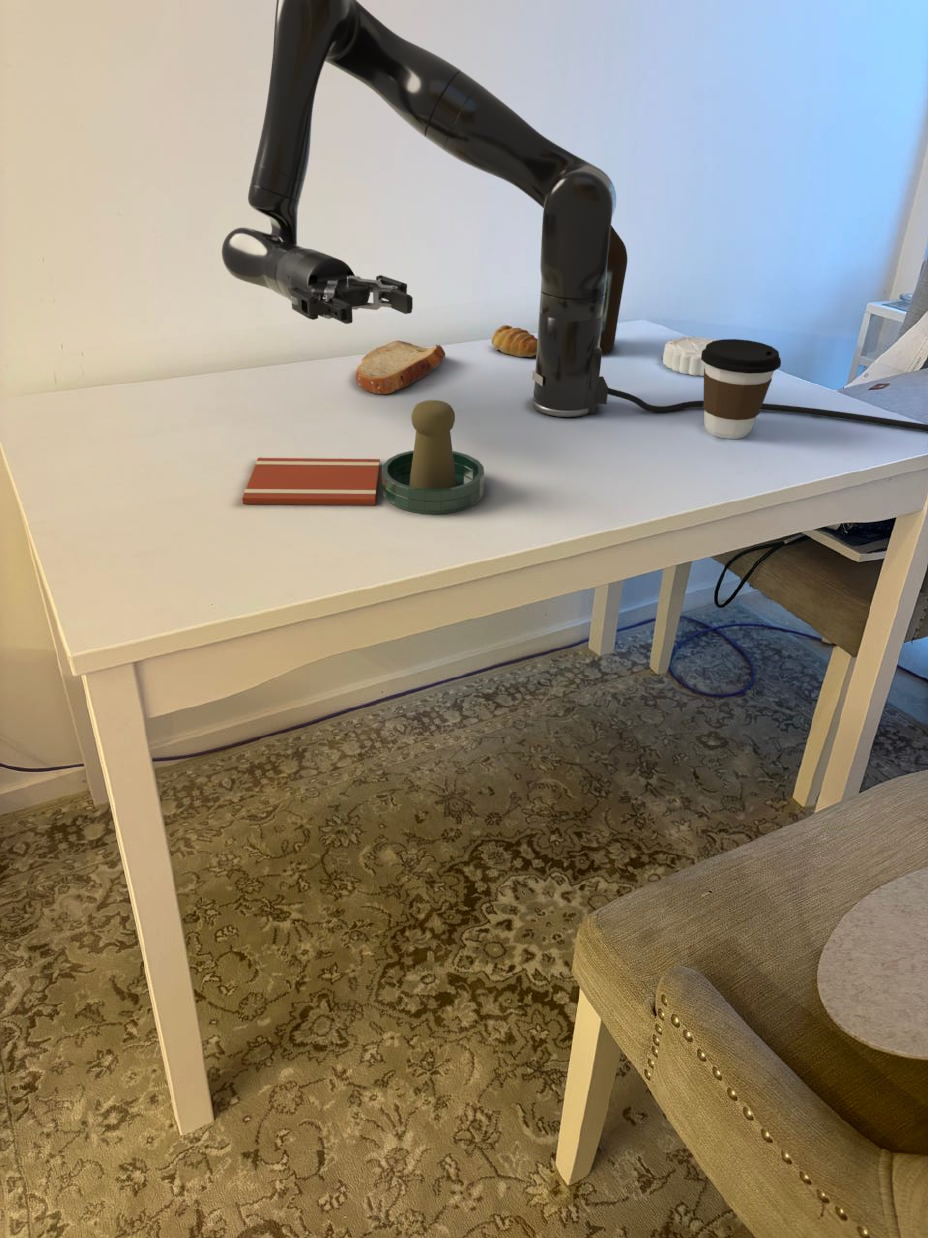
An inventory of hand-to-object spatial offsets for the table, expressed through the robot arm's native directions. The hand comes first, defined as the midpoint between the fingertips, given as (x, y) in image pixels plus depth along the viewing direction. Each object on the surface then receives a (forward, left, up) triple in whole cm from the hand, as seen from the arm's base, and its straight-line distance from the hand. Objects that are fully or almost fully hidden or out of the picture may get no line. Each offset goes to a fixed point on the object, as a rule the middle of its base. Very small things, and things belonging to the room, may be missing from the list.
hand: (380, 310), depth 111 cm
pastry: (-21, -49, -20) cm, 57 cm away
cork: (-6, +9, -20) cm, 22 cm away
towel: (+9, +7, -20) cm, 23 cm away
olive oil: (-34, -51, -20) cm, 65 cm away
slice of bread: (-1, -36, -20) cm, 41 cm away
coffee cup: (-49, -12, -20) cm, 55 cm away
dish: (-6, +9, -20) cm, 23 cm away
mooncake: (-52, -42, -20) cm, 70 cm away
